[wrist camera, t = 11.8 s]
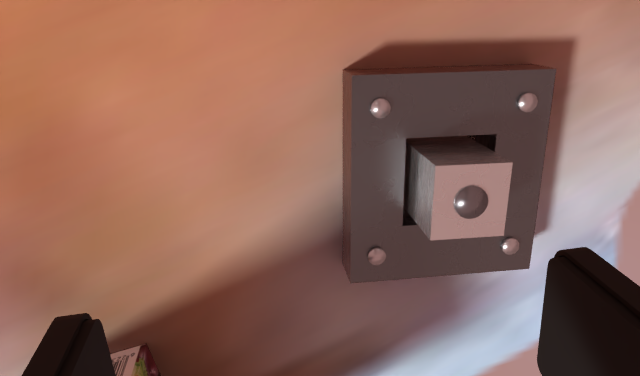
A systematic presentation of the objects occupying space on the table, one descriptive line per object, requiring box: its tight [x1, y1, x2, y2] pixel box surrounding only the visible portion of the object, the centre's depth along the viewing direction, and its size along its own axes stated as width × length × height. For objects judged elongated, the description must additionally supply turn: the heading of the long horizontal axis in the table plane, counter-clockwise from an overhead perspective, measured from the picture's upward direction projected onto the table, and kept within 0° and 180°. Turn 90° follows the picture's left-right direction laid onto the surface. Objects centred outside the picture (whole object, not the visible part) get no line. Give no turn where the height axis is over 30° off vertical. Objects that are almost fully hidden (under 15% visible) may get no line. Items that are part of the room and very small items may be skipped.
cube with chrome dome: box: [403, 136, 513, 240], centre depth 33 cm, size 5×5×7 cm
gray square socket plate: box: [343, 64, 556, 283], centre depth 35 cm, size 14×13×3 cm
